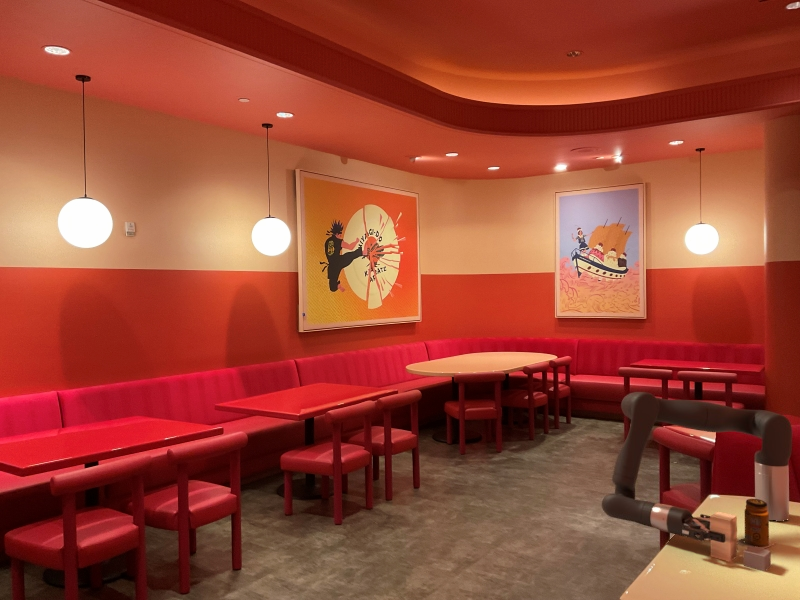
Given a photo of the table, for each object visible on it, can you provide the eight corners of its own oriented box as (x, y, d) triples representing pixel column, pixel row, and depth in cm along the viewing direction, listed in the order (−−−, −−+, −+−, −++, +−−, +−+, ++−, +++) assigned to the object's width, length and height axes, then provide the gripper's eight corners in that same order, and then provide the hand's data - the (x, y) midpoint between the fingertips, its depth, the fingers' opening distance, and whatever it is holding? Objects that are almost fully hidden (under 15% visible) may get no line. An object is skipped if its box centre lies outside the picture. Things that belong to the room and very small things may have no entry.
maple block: (717, 550, 176) (717, 511, 176) (737, 556, 172) (736, 515, 172) (710, 556, 172) (710, 516, 172) (730, 561, 169) (729, 520, 169)
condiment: (775, 544, 180) (775, 502, 180) (760, 551, 175) (759, 508, 175) (749, 536, 186) (749, 495, 186) (733, 542, 181) (733, 501, 181)
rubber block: (749, 560, 170) (749, 545, 169) (770, 566, 166) (770, 550, 166) (743, 566, 166) (743, 551, 166) (764, 572, 162) (764, 556, 162)
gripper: (659, 512, 178) (720, 527, 166) (681, 500, 187) (740, 513, 176) (660, 539, 178) (721, 555, 166) (681, 525, 188) (740, 540, 176)
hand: (730, 534), depth 171 cm, fingers open, 8 cm apart
